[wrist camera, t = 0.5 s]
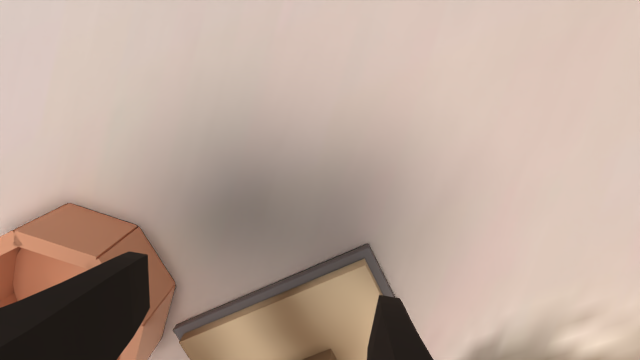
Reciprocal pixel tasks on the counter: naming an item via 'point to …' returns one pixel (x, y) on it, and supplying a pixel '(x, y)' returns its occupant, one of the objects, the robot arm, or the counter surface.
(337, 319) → the lid
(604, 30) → the counter surface
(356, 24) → the counter surface
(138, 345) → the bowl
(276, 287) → the mat
